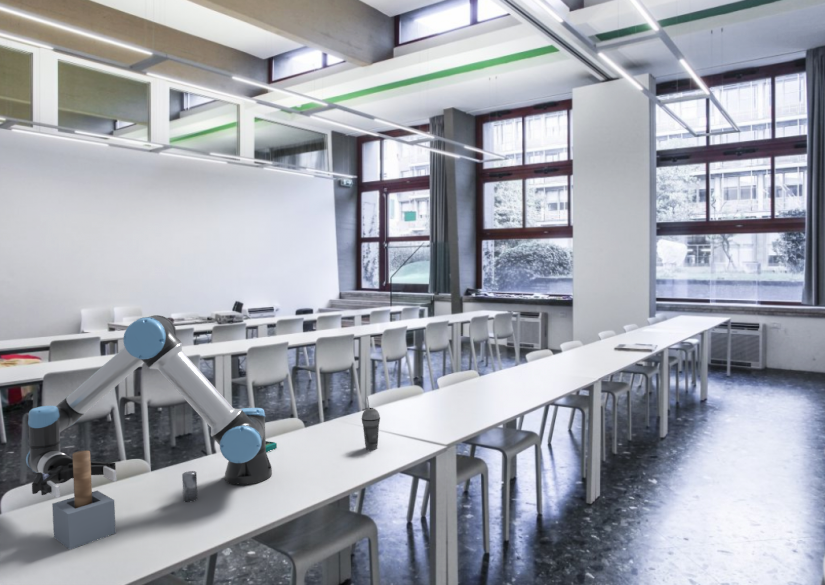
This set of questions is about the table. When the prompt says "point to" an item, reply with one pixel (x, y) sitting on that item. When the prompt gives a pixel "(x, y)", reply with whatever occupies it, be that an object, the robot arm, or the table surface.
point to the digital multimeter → (270, 446)
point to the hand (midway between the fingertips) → (87, 483)
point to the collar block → (83, 520)
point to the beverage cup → (371, 427)
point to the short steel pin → (189, 486)
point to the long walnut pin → (82, 478)
